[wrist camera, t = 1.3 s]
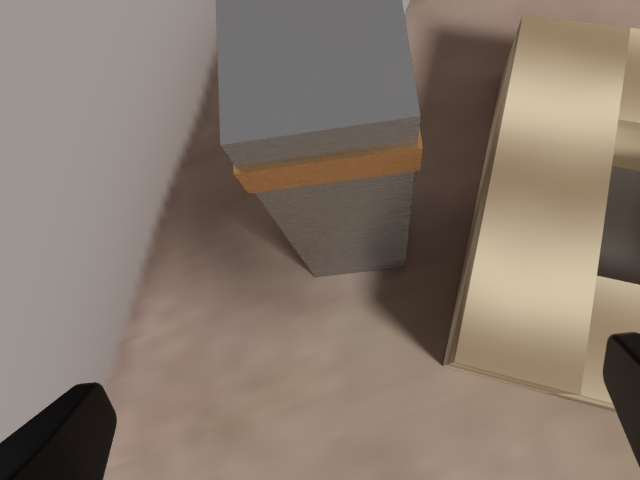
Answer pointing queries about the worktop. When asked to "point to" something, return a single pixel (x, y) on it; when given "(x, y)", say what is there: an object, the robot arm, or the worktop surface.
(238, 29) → the square bit
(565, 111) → the socket block
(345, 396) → the worktop surface
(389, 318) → the worktop surface
